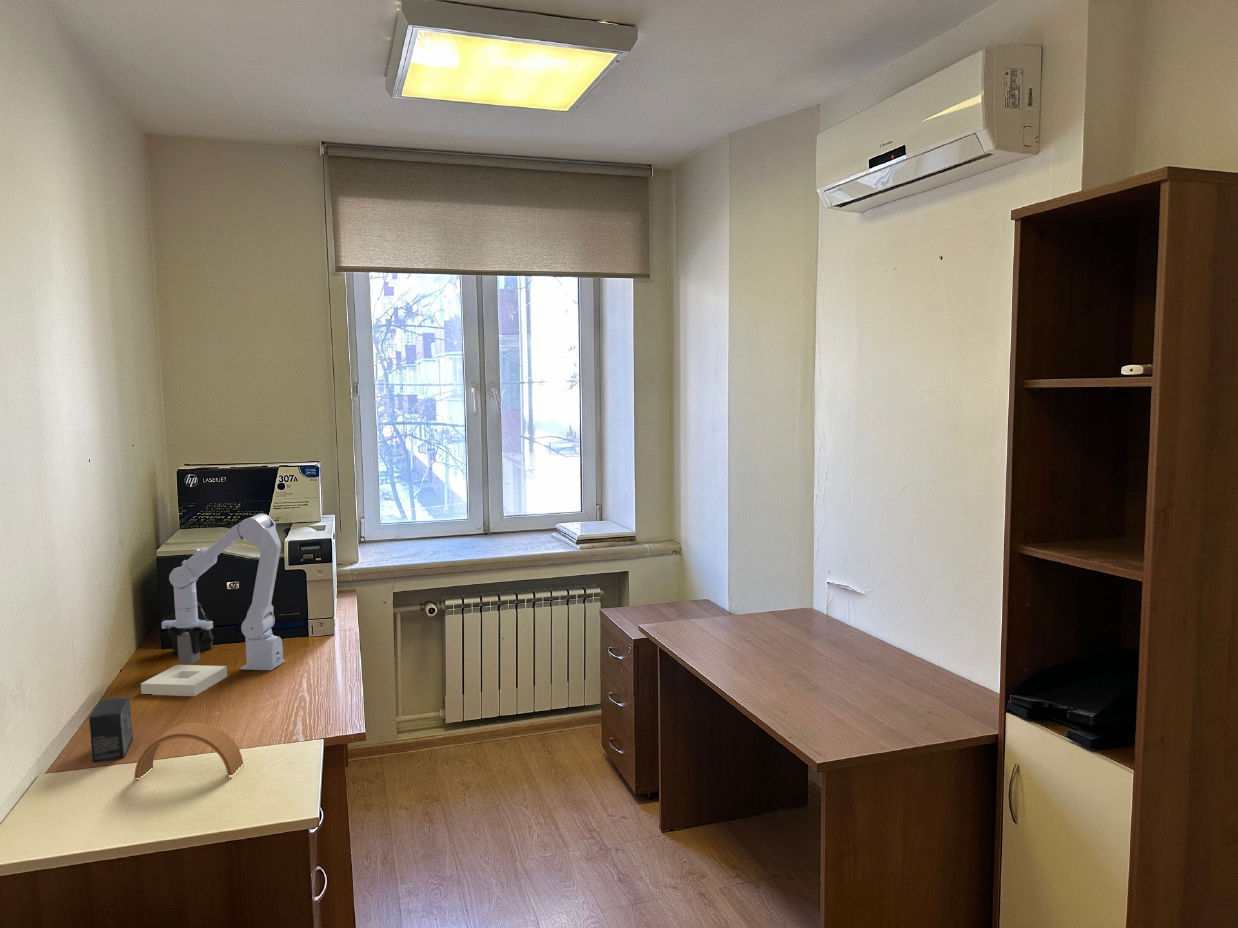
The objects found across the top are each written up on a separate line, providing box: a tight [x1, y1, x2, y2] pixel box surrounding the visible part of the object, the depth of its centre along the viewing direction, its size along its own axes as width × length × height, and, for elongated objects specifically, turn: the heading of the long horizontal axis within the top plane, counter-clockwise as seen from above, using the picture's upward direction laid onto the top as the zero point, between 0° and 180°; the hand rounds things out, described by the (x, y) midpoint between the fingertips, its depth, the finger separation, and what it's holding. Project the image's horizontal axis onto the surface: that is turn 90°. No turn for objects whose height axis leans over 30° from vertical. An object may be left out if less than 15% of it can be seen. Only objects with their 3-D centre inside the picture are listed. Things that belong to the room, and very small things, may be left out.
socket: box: [140, 664, 228, 697], centre depth 229 cm, size 15×15×3 cm
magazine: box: [161, 600, 214, 654], centre depth 259 cm, size 4×13×15 cm, turn 109°
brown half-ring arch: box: [134, 722, 244, 779], centre depth 176 cm, size 6×20×10 cm, turn 91°
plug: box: [177, 632, 201, 665], centre depth 243 cm, size 4×4×8 cm
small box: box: [88, 696, 134, 763], centre depth 187 cm, size 11×6×10 cm, turn 21°
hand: (189, 652), depth 243 cm, fingers closed on plug, 4 cm apart
